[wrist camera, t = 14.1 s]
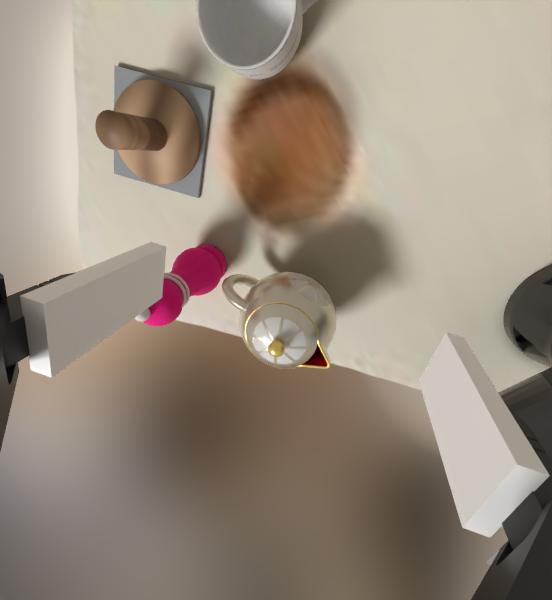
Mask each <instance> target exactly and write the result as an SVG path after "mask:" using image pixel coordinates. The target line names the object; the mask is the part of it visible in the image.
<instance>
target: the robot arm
mask: <svg viewBox="0 0 552 600" xmlns="http://www.w3.org/2000/svg"><path fill="white" fill-rule="evenodd" d="M165 255H166V246H163V245H159V244H156V243H153V242H150V243H148V244H145V245H143V246H140V247H138V248H136V249H133V250H131V251H128V252H126V253H123V254H121V255H118V256H116V257H114V258H111V259H109V260H106V261H104V262H101V263H99V264H96V265H94V266H92V267H89V268H87V269H84V270H82V271H79V272H76V273H71V274H65V275H61V276H58V277H56V278H53V279H51V280H49V281H46V282H43V283H41V284H39V286H38V285H36V286H33V287H30V288H28V289H25V290H23V291H21V292H18V293H15V294H13V295H10V296H8V297H7V296H6V290H5V284H4V277H3V275H2V274H0V451H1V447H2V442H3V438H4V434H5V429H6V425H7V421H8V416H9V412H10V408H11V404H12V399H13V395H14V391H15V386H16V382H17V378H18V373H19V367H18V362H19V361H20V360H22V359H24V358H25V357H27V356H29V361H30V368H31V370H32V371H34V372H37V373H40V374H43V375H45V376H48V377H51V378H52V377H53V376H55V375H56V374H57V373H59V372H60V371H62V370H63V369H64V368H66V367H67V366H68V365H70V364H71V363H73V362H74V361H75V360H77V359H78V358H80V357H81V356H82V355H84V354H85V353H86V352H88V351H89V350H91V349H92V348H93V347H95V346H96V345H97V344H99V343H100V342H102V341H103V340H104V339H106V338H107V337H108V336H110V335H111V334H113V333H114V332H115V331H117V330H118V329H120V328H121V327H122V326H124V325H125V324H126V323H128V322H129V321H131V320H132V319H133V318H135V317H136V316H138V315H139V314H140V313H142V312H143V311H145V310H146V309H147V308H149V307H150V306H151V305H153V304H154V303H156V302H157V301H158V300H160V299H161V298H162V293H163V280H164V268H165ZM504 327H505V330H506V333H507V335H508V337H509V338H510V339H511V341H512V342H513V343H514V344H515V345H516V346H517V348H518V349H519V350H520V351H521V352H523V353H524V354H525V355H527V356H528V357H530V358H531V359H533V360H535V361H537V362H540V363H542V364H544V365H546V366H548V367H551V368H549V369H547V370H545V371H543V372H541V373H538V374H536V375H534V376H532V377H530V378H528V379H526V380H524V381H522V382H520V383H518V384H516V385H513V386H511V387H509V388H507V389H505V390H503V391H501V392H499V393H498V392H497V390H496V388H495V387H494V385H493V384H492V382H491V380H490V379H489V377H488V376H487V374H486V372H485V371H484V369H483V368H482V366H481V364H480V363H479V361H478V359H477V358H476V356H475V355H474V353H473V351H472V350H471V348H470V347H469V345H468V343H467V342H466V340H465V339H464V338H463V337H460V336H457V335H454V334H450V333H447V332H446V333H445V335H444V337H443V338H442V340H441V342H440V344H439V345H438V347H437V349H436V351H435V353H434V354H433V356H432V358H431V360H430V362H429V363H428V365H427V367H426V369H425V371H424V372H423V374H422V376H421V378H420V380H419V383H420V387H421V390H422V393H423V396H424V400H425V403H426V407H427V410H428V413H429V417H430V420H431V424H432V427H433V430H434V434H435V437H436V440H437V444H438V447H439V451H440V454H441V457H442V460H443V464H444V467H445V471H446V474H447V477H448V481H449V484H450V487H451V490H452V494H453V497H454V501H455V504H456V508H457V511H458V514H459V517H460V521H461V524H462V527H463V528H465V529H468V530H471V531H473V532H476V533H479V534H481V535H484V536H487V537H491V536H492V535H493V534H494V533H495V532H496V531H497V530H498V529H499V528H504V530H505V533H506V535H507V537H508V541H507V542H506V543H505V544H504V545H503V546H502V547H501V548H500V549H499V550H498V551H497V552H496V553H495V554H494V555H493V556H492V557H491V558H490V559H489V560H488V561H487V563H488V564H489V565H490V568H489V569H488V571H487V573H486V575H485V576H484V578H483V580H482V582H481V584H480V585H479V587H478V588H477V590H476V592H475V594H474V595H473V597H472V599H471V600H552V266H549V267H547V268H545V269H542V270H540V271H539V272H537V273H535V274H534V275H532V276H530V277H529V278H528V279H526V280H525V281H524V282H523V283H522V284H521V285H520V286H519V287H518V288H517V289H516V290H515V291H514V293H513V294H512V296H511V297H510V299H509V301H508V303H507V305H506V308H505V312H504Z"/></svg>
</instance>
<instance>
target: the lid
mask: <svg viewBox="0 0 552 600" xmlns="http://www.w3.org/2000/svg"><path fill="white" fill-rule="evenodd" d="M96 132H97V135H98V137H99V139H100V141H101V142H102V143H103V144H104V145H105V146H106V147H108V148H110V149H114V150H118V152H119V154H120V156H121V158H122V159H123V161H124V162H125V164H126V165H127V166H128V167H129V169H130V170H131V171H132V172H134V173H135V174H136V175H137V176H139V177H140V178H142V179H144V180H145V181H148V182H150V183H154V184H170V183H174V182H177V181H180V180H182V179H183V178H185V177H186V176H187V175H188V174H189V173H190V172H191V171H192V170H193V168H194V167H195V165H196V163H197V161H198V158H199V155H200V150H201V131H200V126H199V122H198V119H197V116H196V114H195V112H194V110H193V108H192V106H191V105H190V103H189V102H188V100H187V99H186V98H185V97H184V96H183V95H182V94H181V93H180V92H179V91H178V90H176V89H175V88H173V87H171V86H170V85H167V84H165V83H162V82H160V81H156V80H140V81H137V82H135V83H133V84H131V85H129V86H128V87H127V88H126V89H125V90H124V91H123V92H122V93H121V95H120V96H119V98H118V100H117V102H116V104H115V107H114V111H111V110H105V111H103V112H101V113H100V114H99V115H98V117H97V119H96Z"/></svg>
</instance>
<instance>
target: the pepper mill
mask: <svg viewBox="0 0 552 600" xmlns="http://www.w3.org/2000/svg"><path fill="white" fill-rule="evenodd" d="M225 271H226V260H225V257H224V255H223V254H222V252H221V251H220V250H218V249H217V248H216V247H214V246H211V245H201V246H199V247H197V248H190V249H187V250H185V251H184V252H182V253H181V254H180V255H179V256H178V257H177V259H176V260H175V262H174V264H173V268H172V271H171V272H170V273H164V280H163V293H162V298H161V299H160V300H158V301H157V302H156V303H154V304H153V305H151V306H150V307H149V308H147V309H146V310H145V311H143V312H142V313H140V314H139V315H138V316H136V317H135V319H136V320H138V321H142V322H144V323H146V324H148V325H152V326H163V325H167V324H169V323H171V322H172V321H174V320H175V319H176V318H177V317H178V316H179V314H180V313H181V310H182V307H183V306H185V305H186V304H187V302H188V300H189V297H190V296H192V295H197V296H198V295H203V294H206V293H208V292H210V291H212V290H213V289H214V288H215V287H216V286H217V285H218V283H219V281H220V278H221V277H222V276H223V275H224V274H225Z"/></svg>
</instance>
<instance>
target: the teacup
mask: <svg viewBox="0 0 552 600" xmlns="http://www.w3.org/2000/svg"><path fill="white" fill-rule="evenodd" d="M317 1H318V0H196V16H197V23H198V28H199V30H200V33H201V36H202V39H203V41H204V43H205V45H206V47H207V48H208V50H209V51H210V53H212V55H213V56H214V57H215V58H216V59H217V60H219V61H220V62H221V63H223V64H224V65H226V66H228V67H229V68H231V69H232V70H233V71H235V72H237V73H238V74H240V75H242V76H244V77H247V78H251V79H265V78H269V77H271V76H274V75H276V74H277V73H279V72H280V71H281V70H283V69H284V68H285V67H286V66H287V65H288V64H289V62H290V61H291V59H292V58H293V56H294V54H295V53H296V50H297V48H298V46H299V43H300V39H301V35H302V27H303V13H305V12H306V11H307V9H308V8H309V7H311V6H312V5H313V4H314V3H316V2H317Z"/></svg>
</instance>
